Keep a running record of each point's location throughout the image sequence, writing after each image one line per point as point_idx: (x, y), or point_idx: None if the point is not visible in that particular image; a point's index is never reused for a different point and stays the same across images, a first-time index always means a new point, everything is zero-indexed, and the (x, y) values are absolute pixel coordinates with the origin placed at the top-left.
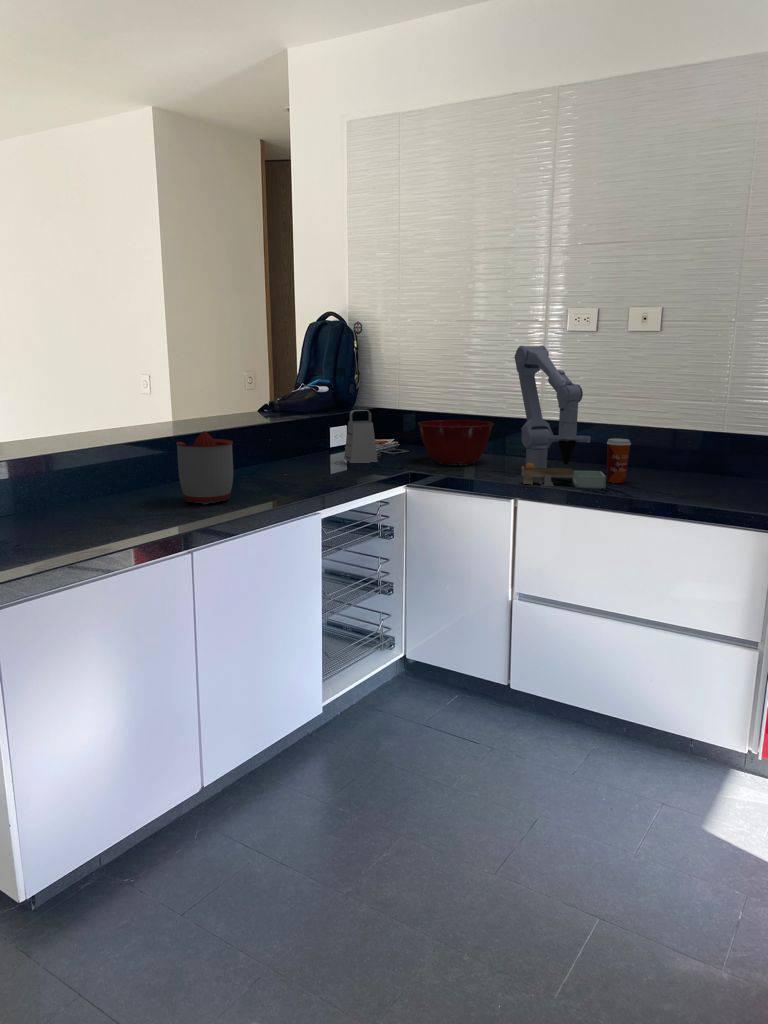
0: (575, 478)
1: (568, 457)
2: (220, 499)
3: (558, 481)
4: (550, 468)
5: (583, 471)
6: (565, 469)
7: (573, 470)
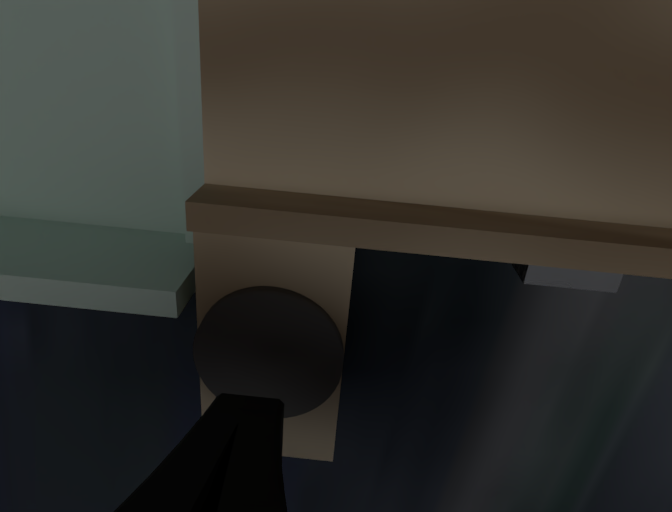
0: (175, 244)
1: (182, 472)
2: None
3: (361, 273)
4: (546, 238)
5: (37, 275)
6: (293, 207)
7: (168, 312)
